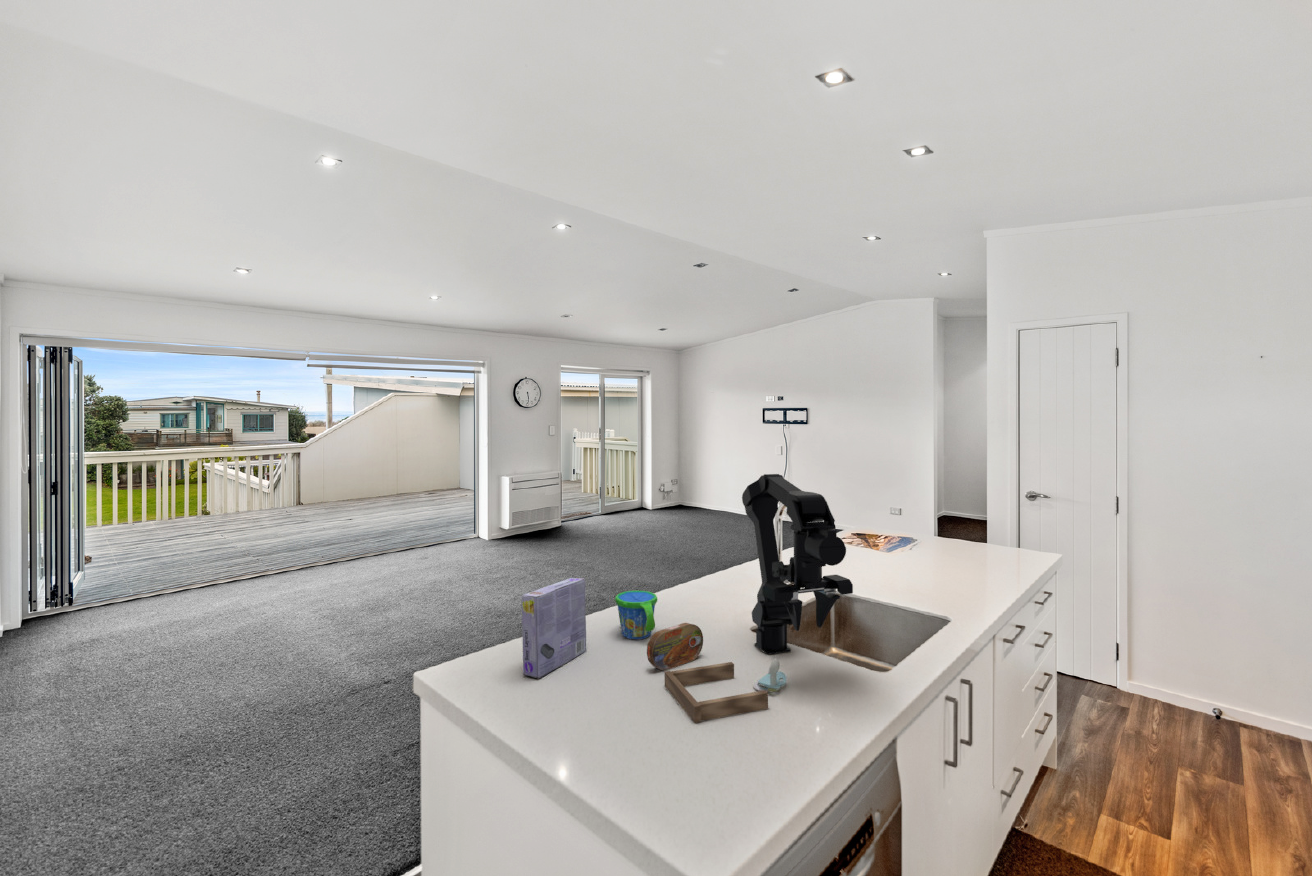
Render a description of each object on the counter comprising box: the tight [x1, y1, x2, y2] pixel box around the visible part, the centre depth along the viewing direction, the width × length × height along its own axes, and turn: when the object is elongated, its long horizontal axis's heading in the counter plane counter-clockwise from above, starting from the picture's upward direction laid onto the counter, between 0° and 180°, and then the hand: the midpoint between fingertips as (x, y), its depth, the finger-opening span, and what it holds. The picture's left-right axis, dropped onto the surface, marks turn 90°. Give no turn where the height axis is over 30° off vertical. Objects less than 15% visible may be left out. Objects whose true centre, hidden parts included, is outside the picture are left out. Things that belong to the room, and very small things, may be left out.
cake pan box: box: [521, 577, 587, 679], centre depth 133 cm, size 19×5×18 cm, turn 152°
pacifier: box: [753, 658, 787, 693], centre depth 119 cm, size 7×6×6 cm
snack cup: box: [614, 590, 658, 640], centre depth 150 cm, size 16×10×10 cm
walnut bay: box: [663, 661, 769, 724], centre depth 115 cm, size 15×16×3 cm
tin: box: [646, 622, 704, 671], centre depth 132 cm, size 15×3×8 cm, turn 128°
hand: (807, 628), depth 122 cm, fingers open, 5 cm apart
